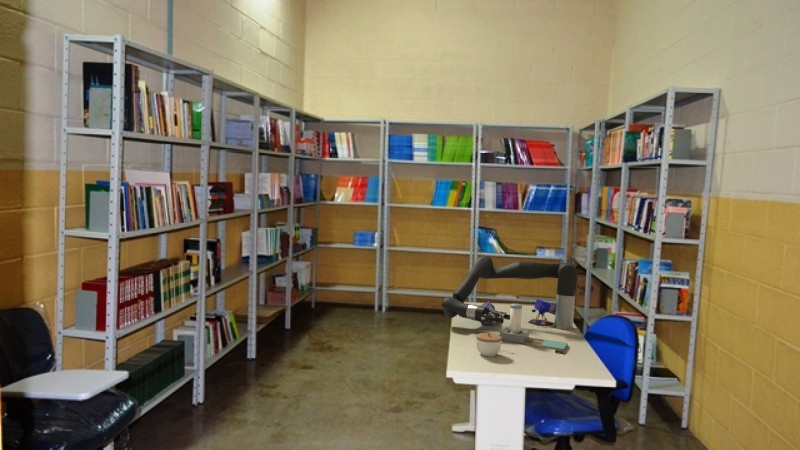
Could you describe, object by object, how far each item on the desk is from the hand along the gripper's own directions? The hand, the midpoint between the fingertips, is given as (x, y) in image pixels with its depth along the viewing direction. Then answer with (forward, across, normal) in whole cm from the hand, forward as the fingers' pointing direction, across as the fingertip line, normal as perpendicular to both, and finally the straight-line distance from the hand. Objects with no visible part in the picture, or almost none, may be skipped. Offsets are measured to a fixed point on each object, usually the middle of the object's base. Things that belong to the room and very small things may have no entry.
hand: (507, 319), depth 264 cm
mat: (+21, -5, -9) cm, 23 cm away
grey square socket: (+3, -1, -9) cm, 9 cm away
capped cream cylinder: (+3, -1, -9) cm, 9 cm away
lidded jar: (+5, +26, -10) cm, 28 cm away
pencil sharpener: (-2, -45, -10) cm, 46 cm away
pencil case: (-23, -21, -10) cm, 33 cm away
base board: (+11, -3, -10) cm, 15 cm away
